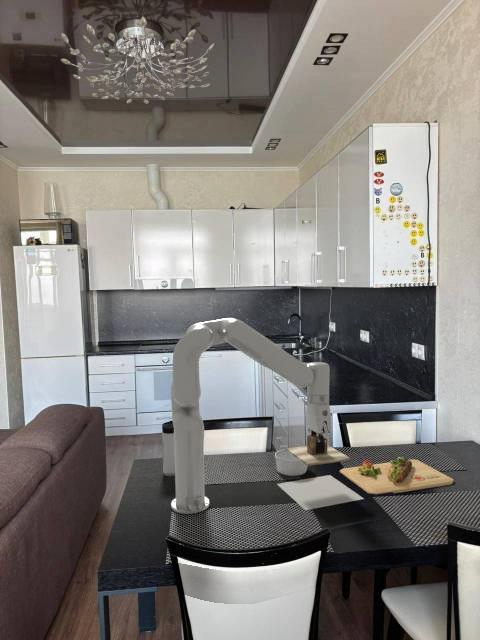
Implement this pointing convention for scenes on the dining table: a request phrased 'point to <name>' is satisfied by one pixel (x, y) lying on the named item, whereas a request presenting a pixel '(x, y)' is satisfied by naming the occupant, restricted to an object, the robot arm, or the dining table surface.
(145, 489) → the dining table surface
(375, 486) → the cutting board
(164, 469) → the travel mug
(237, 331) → the robot arm
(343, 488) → the rubber mat
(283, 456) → the ramekin
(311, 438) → the oak lid
